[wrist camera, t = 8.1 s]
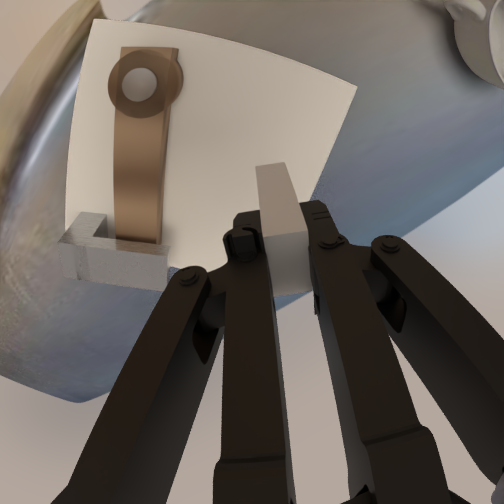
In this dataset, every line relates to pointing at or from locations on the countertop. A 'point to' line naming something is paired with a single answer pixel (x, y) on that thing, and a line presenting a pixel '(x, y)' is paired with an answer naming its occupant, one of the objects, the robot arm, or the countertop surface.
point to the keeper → (111, 256)
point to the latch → (142, 137)
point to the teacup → (480, 36)
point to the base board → (205, 132)
